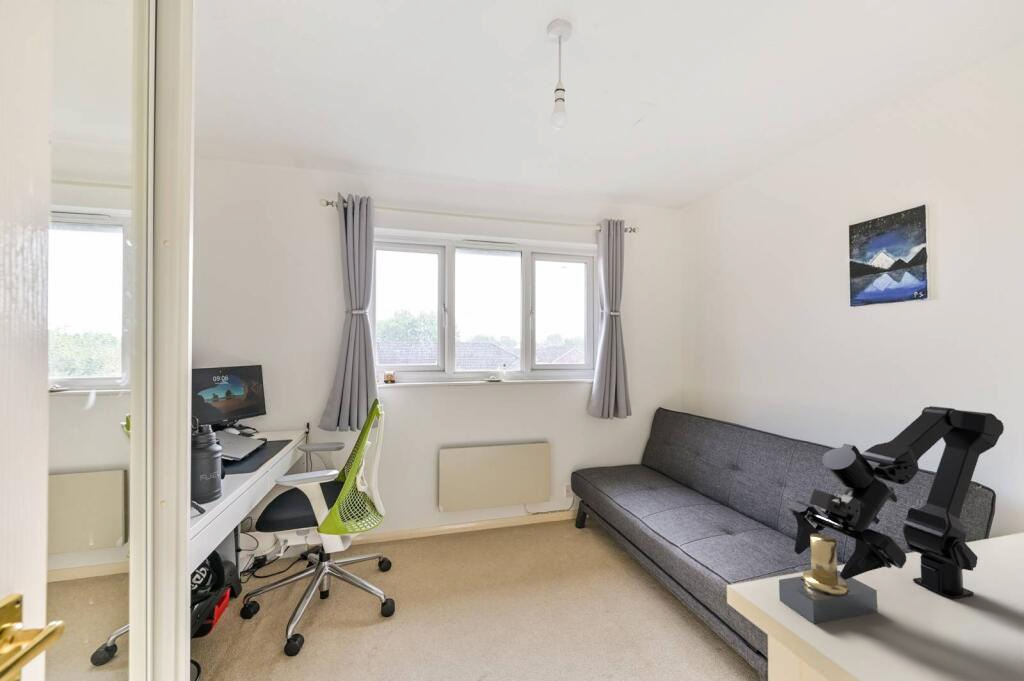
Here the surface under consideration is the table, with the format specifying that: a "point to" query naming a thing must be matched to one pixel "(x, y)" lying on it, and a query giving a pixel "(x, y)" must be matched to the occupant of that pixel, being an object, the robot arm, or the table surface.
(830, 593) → the brass pin
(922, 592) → the table surface
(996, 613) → the table surface
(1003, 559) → the table surface
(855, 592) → the steel hitch block
